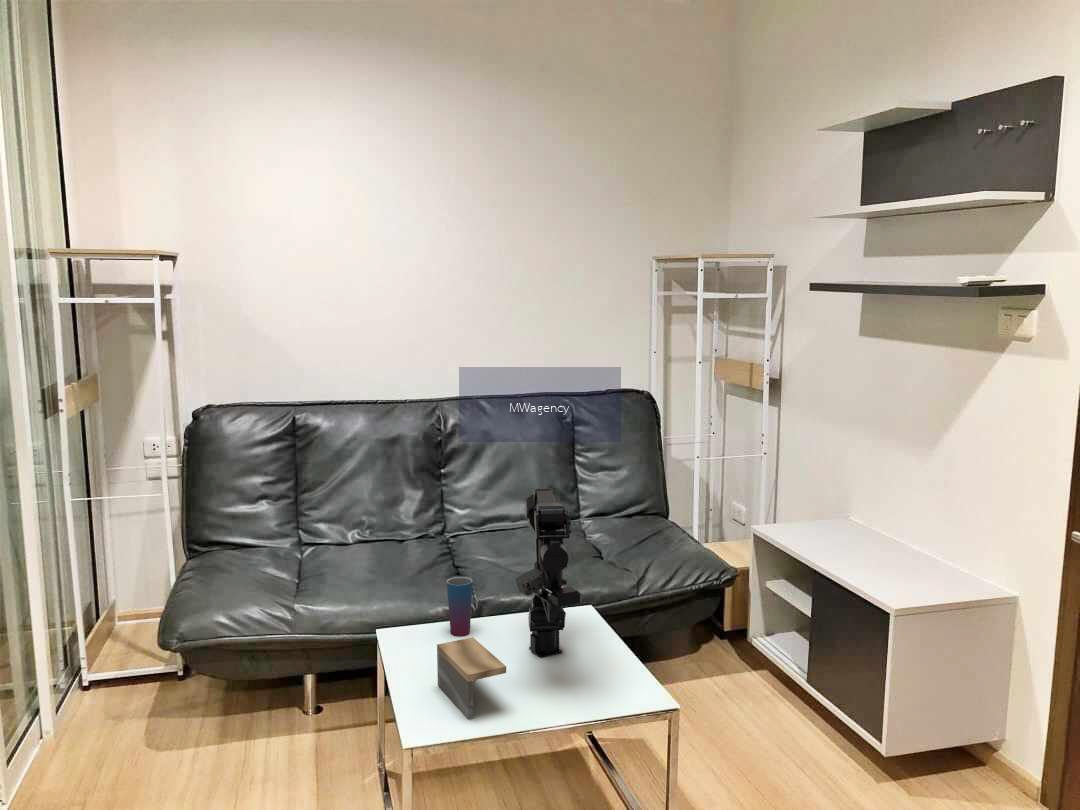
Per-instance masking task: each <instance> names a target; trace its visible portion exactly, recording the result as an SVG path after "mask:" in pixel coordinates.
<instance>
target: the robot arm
mask: <svg viewBox="0 0 1080 810" xmlns="http://www.w3.org/2000/svg"><path fill="white" fill-rule="evenodd" d="M554 492H555V491H554V489H553V488H550V487H544V488H543V487H541V488H540V487H539V488H538V487H537V488H535V489H533V492H532V494H531V495H529V496H528V497H527V498H526V499H525V505H524V507H525V508H524V514H525V515H524V516H525V517H524V518H525V520H527V525H528V526H527V527H528V528H529V530H530V531H531V533H532V534H533V536H534V548H535V551H534V553H535V555H534V556H535V562H534V565H533V566H534V567H533V569H530V570H527V571H525V572H524V573H522V574H521V575H519V576H517V577H516V578H515V583H516V586H517V588H518V590H519V592H520V593H522V594H523V595H525V596H527V597H528V596H531V595H532V594H533V593H534V594H535V595H534V596H533V598H532V601H531V607H529V610H528V617H527V618H528V627H529V632H531V634H530V636H529V637H530V639H529V640H530V642H529V643H530V645H529V647H528V650H530V651H531V652H533V654H535V655H536V656H537V657H538V658H545V657H546V658H547V657H550V656H554V655H555V656H556V655H559V654H563V650H562V649H561V648H560V631H564V628H565V627H566V615H567V612H566V611H565V610H564V607H567V606H571V605H575V604H581V603H582V593H581V592H580V591H579V590H578V589H576V588H574V587H572V586H571V585H569V586H567V583H568V582H567V579H565V578H564V569H566V568H567V567H568V563H569V559H570V558H569V554H568V551H567V549H566V547H565V545H564V539H567V540H568V539H570V535H571V534H572V523H571V522H572V521H571V514H570V513H569V510H568V509H566V508H565V505H563V503H559V501H558V500H559V499H558V497H557V496H555V493H554ZM565 585H566V586H565Z"/></svg>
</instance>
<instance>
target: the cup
mask: <svg viewBox="0 0 1080 810" xmlns="http://www.w3.org/2000/svg"><path fill="white" fill-rule="evenodd" d="M473 581H474V580H473V579H472V578H471V577H468V576H454V577H451V578H448V579H447V580H446V589H447V601H448V602H447V605H448V616H449V617H448V619H449V630H450V634H451V636H453V637H458V638H459V637H460V638H461V637H466V636H469V634H470V633H471V620H472V619H471V616H472V602H473V601H472V599H473V597H472V596H473Z"/></svg>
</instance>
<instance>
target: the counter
mask: <svg viewBox="0 0 1080 810" xmlns="http://www.w3.org/2000/svg"><path fill="white" fill-rule="evenodd" d="M436 653H437V654H436V655H437V657H436V659H437V661H436V663H437V665H436V666H437V668H436V669H437V687H438V688H439V689H440V690H441V692H443V694H444V695H445V696H446V697H447V698H448V699H449V700H450V701H451V702H452V704H454V705H455V707H456V708H457V709H458V710H459V711H460V712H461V713H462V714H463V716H464V717H465V718H466V719H467V720H468V721H469V720H472V719H474V681H477V680H481V679H485V678H490V677H494V676H499V675H504V674H506V673H507V665H505V664H504V663H503V662H502V661H501V660H500V659H498V658H497V656H496V655H494V654H493V653H492V652H491V651H489V649H487V648H486V647H485V646H484V645H482V643H480V642H479V641H478V640H477V639H476V638H474V636H473V637H468V638H463V639H456V640H453V641H449V642H448V641H447V642H442V643H438V644H436Z"/></svg>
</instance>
